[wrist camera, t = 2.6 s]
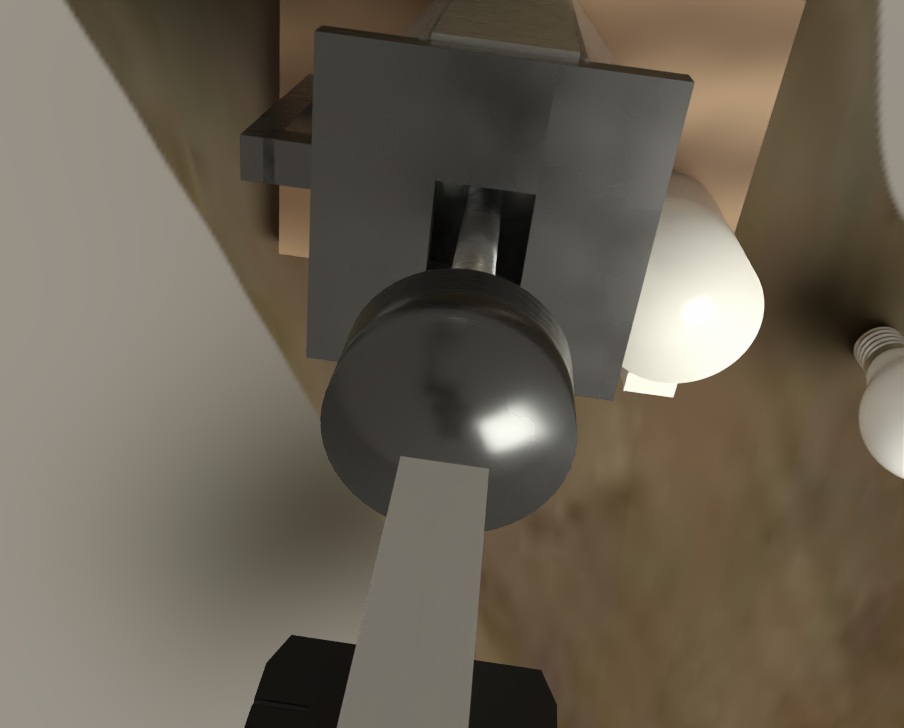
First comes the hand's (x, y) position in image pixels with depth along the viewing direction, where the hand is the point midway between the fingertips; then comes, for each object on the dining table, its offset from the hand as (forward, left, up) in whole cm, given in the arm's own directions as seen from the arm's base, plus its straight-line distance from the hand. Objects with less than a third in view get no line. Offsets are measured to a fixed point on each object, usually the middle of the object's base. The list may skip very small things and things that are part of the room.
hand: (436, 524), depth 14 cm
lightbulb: (+11, +23, -32) cm, 41 cm away
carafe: (0, -2, -31) cm, 31 cm away
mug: (+6, +9, -31) cm, 32 cm away
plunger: (0, 0, -20) cm, 20 cm away
